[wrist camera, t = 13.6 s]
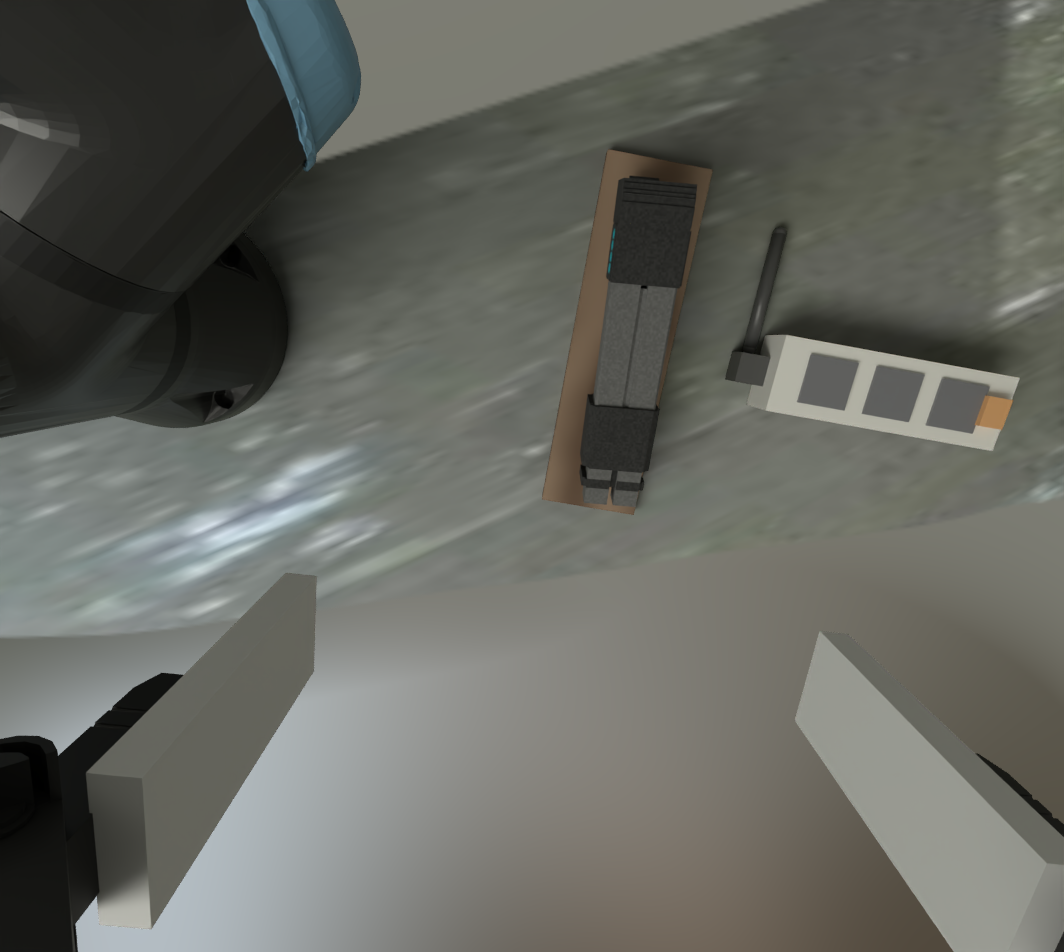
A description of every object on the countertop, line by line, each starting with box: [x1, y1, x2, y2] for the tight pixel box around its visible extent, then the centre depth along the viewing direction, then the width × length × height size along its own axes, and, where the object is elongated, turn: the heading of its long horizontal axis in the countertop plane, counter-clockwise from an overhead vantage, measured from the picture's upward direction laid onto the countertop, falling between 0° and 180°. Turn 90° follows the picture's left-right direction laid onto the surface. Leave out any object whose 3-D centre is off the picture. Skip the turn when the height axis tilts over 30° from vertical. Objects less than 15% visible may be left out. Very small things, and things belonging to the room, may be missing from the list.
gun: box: [579, 176, 697, 507], centre depth 37 cm, size 4×20×10 cm, turn 175°
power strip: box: [725, 227, 1020, 451], centre depth 38 cm, size 18×12×4 cm, turn 80°
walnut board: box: [542, 149, 713, 515], centre depth 40 cm, size 7×24×1 cm, turn 170°
